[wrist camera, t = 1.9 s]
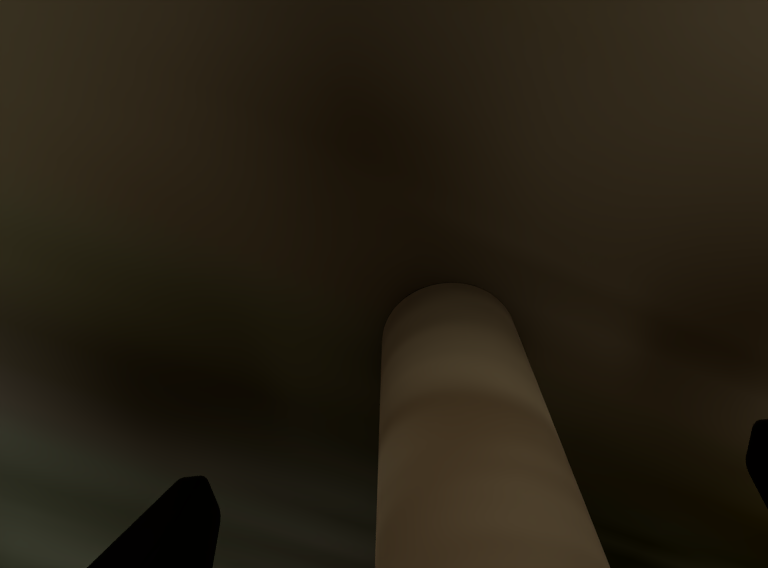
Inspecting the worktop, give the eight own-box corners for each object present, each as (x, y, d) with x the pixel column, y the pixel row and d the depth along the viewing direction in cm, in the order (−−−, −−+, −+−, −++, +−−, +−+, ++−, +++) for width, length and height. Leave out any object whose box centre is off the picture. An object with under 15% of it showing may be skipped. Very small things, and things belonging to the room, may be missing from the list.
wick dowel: (448, 415, 13) (509, 848, 6) (353, 345, 12) (305, 765, 5) (544, 337, 12) (743, 759, 5) (447, 255, 11) (535, 633, 4)
